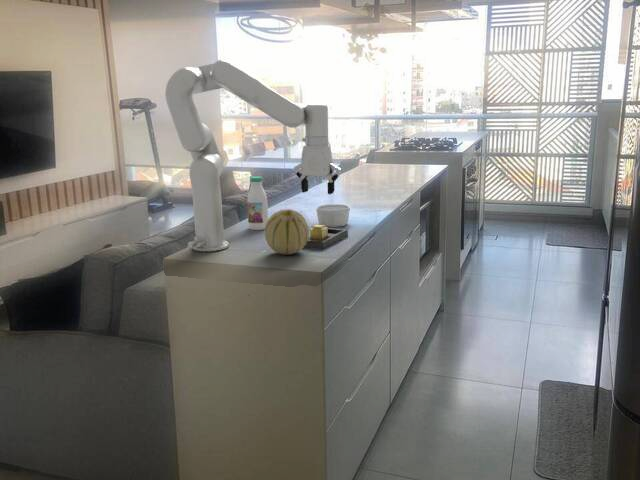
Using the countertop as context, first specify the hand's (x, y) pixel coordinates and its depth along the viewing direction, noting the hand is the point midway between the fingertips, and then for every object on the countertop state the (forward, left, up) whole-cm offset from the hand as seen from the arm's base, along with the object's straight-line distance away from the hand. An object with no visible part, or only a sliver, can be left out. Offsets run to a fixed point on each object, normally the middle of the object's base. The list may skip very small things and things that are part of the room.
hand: (317, 192), depth 208 cm
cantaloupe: (-14, +5, -18) cm, 24 cm away
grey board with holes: (+5, 0, -18) cm, 19 cm away
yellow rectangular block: (0, 0, -18) cm, 18 cm away
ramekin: (+31, +9, -19) cm, 37 cm away
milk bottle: (+14, +33, -18) cm, 41 cm away
